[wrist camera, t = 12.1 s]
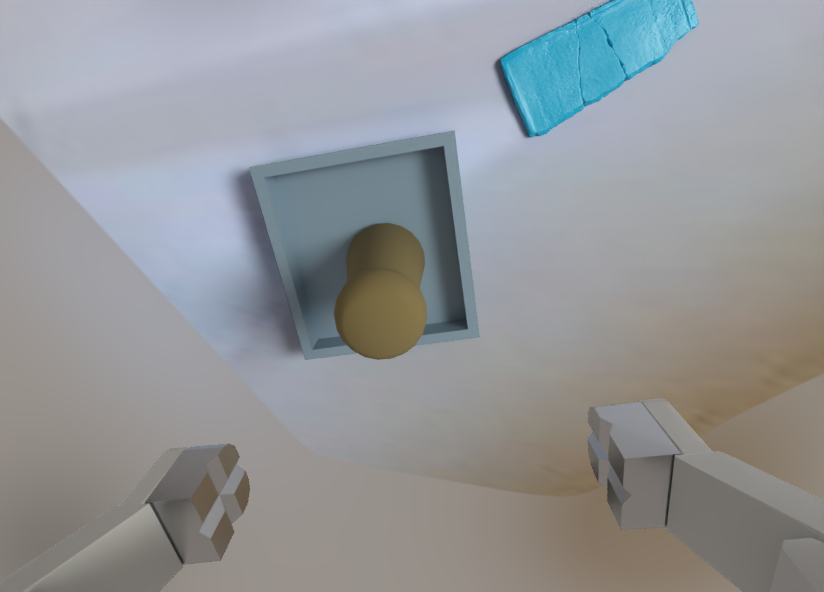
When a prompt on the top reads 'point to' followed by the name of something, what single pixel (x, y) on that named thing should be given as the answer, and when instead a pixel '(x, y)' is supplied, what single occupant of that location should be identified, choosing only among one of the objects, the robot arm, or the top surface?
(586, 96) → the sponge
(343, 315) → the cork
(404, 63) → the top surface
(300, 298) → the tray
